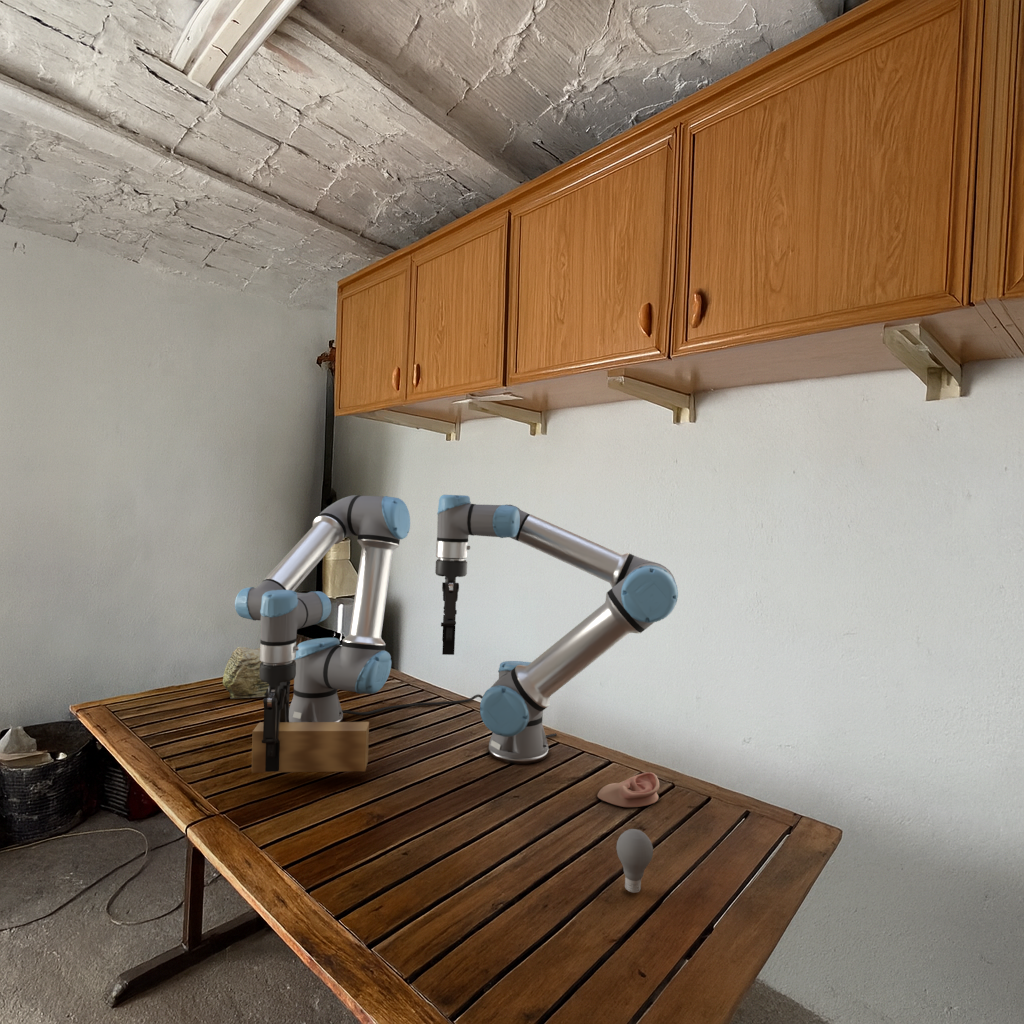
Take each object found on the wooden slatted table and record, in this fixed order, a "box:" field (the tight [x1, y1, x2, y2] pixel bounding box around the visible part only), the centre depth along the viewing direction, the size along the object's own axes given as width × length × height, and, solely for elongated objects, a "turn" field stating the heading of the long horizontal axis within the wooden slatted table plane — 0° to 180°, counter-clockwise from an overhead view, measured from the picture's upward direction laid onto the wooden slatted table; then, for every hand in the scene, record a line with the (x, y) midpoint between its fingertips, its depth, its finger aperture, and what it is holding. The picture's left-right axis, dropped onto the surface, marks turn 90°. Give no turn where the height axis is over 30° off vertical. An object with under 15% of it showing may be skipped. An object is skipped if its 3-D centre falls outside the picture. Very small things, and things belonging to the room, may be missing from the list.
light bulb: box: [615, 828, 654, 894], centre depth 106 cm, size 6×6×10 cm
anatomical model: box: [596, 771, 660, 808], centre depth 140 cm, size 13×4×12 cm
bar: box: [251, 721, 370, 774], centre depth 141 cm, size 24×5×9 cm, turn 96°
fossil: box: [222, 646, 269, 699], centre depth 198 cm, size 9×18×15 cm, turn 132°
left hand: (275, 764), depth 141 cm, fingers closed on bar, 5 cm apart
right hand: (447, 647), depth 152 cm, fingers open, 13 cm apart
